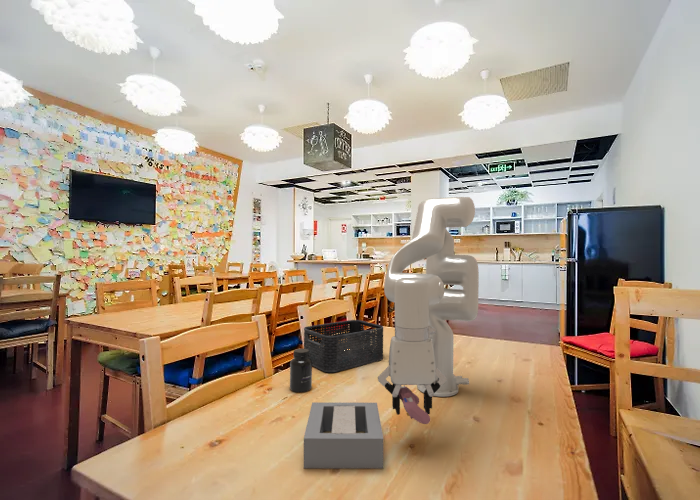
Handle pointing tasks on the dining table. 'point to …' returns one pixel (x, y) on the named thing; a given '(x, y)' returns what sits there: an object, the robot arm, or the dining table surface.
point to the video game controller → (413, 406)
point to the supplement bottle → (301, 371)
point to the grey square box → (343, 438)
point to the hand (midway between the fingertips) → (412, 410)
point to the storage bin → (343, 345)
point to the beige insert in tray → (344, 420)
